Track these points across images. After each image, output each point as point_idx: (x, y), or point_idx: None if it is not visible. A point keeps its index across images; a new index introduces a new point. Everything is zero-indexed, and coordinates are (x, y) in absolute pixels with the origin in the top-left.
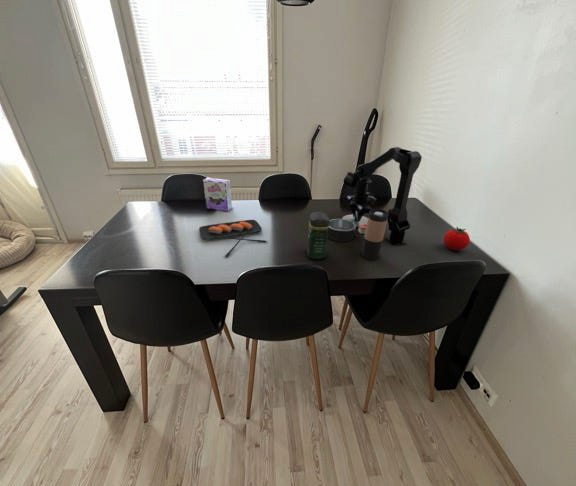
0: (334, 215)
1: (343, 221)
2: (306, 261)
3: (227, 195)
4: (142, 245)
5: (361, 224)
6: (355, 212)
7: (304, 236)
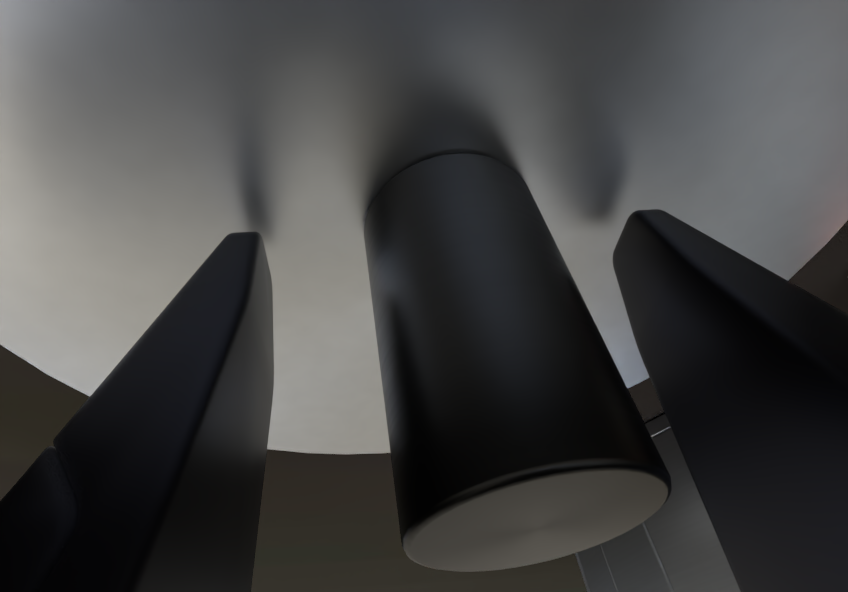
0: (20, 475)
1: (706, 584)
2: None
3: None
4: None
5: (795, 177)
6: (532, 562)
7: (578, 586)
